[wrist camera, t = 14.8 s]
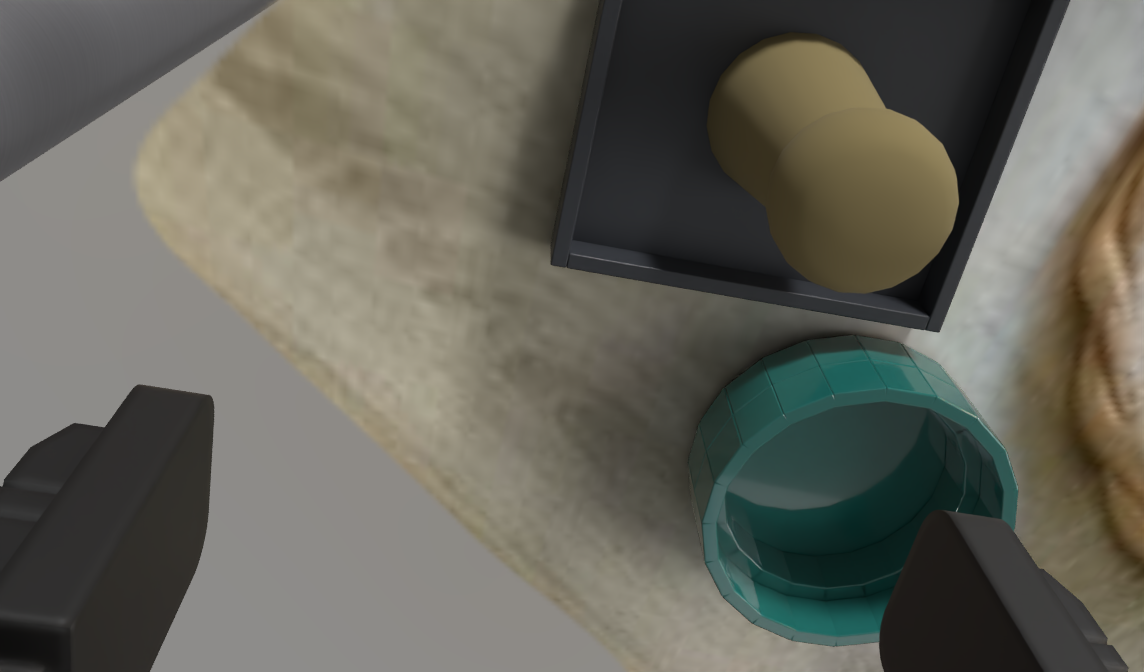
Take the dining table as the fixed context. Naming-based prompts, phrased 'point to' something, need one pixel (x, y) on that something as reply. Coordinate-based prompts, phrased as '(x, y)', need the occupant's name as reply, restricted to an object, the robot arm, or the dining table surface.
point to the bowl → (835, 481)
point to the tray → (720, 205)
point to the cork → (832, 164)
